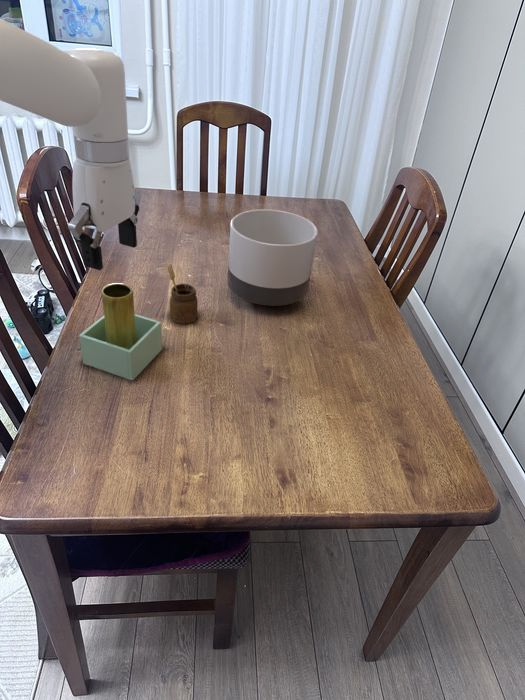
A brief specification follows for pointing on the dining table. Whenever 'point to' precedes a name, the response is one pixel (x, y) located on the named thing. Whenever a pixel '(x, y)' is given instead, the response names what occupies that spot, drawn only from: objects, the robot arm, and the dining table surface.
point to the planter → (270, 256)
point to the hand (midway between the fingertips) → (111, 255)
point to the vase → (119, 315)
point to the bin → (117, 357)
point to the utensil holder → (182, 301)
